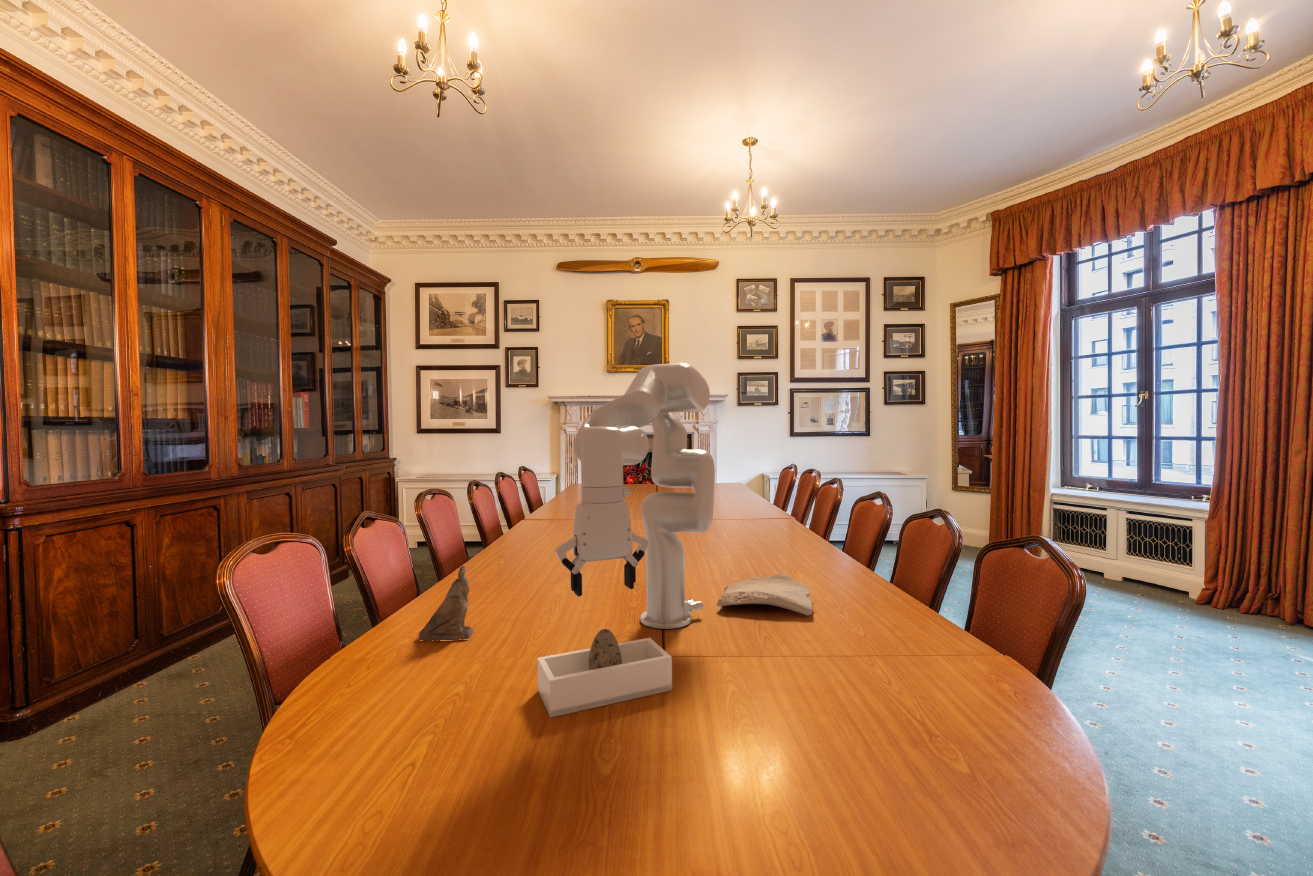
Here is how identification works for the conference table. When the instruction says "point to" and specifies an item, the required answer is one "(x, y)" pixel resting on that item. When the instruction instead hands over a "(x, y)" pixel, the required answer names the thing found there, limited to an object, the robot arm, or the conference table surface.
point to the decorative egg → (604, 651)
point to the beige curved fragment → (769, 593)
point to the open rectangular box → (603, 677)
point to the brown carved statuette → (450, 614)
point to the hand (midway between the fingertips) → (603, 590)
